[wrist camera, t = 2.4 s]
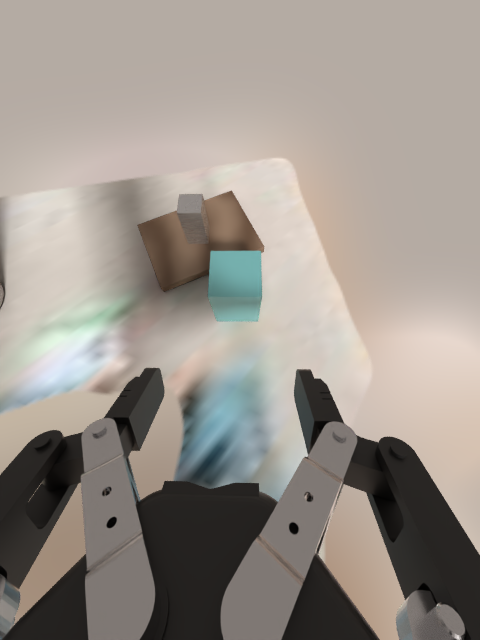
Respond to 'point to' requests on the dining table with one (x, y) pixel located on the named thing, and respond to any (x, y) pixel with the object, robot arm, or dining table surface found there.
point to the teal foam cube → (235, 285)
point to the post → (193, 218)
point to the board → (194, 259)
